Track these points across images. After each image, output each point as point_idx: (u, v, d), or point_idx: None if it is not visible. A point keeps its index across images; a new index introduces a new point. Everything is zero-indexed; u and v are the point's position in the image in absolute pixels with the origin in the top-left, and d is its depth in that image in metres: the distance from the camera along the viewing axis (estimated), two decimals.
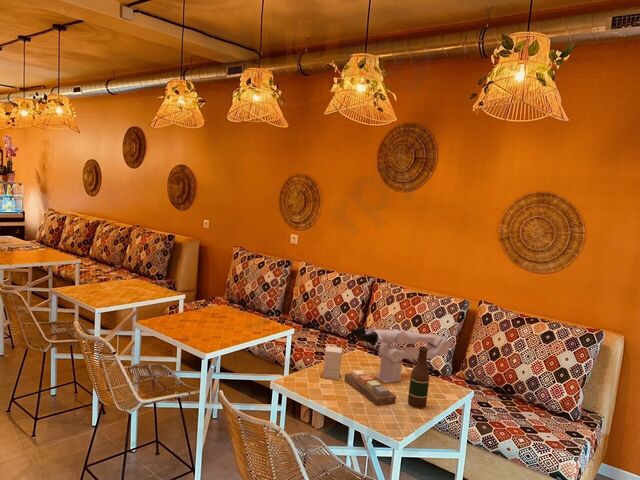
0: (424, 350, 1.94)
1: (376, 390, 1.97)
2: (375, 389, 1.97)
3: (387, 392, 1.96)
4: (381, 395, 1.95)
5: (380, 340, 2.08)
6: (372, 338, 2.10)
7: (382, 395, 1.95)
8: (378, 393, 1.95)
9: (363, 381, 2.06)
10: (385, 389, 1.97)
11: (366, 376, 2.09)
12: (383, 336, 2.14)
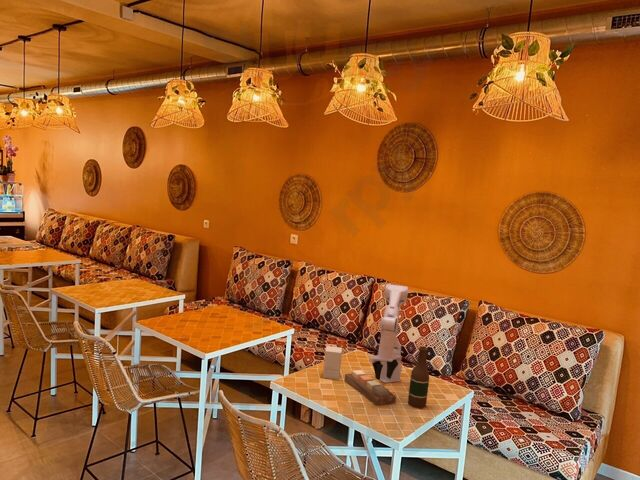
0: (424, 350, 1.94)
1: (376, 390, 1.97)
2: (375, 389, 1.97)
3: (387, 392, 1.96)
4: (381, 395, 1.95)
5: None
6: None
7: (382, 395, 1.95)
8: (378, 393, 1.95)
9: (363, 381, 2.06)
10: (385, 389, 1.97)
11: (366, 376, 2.09)
12: None
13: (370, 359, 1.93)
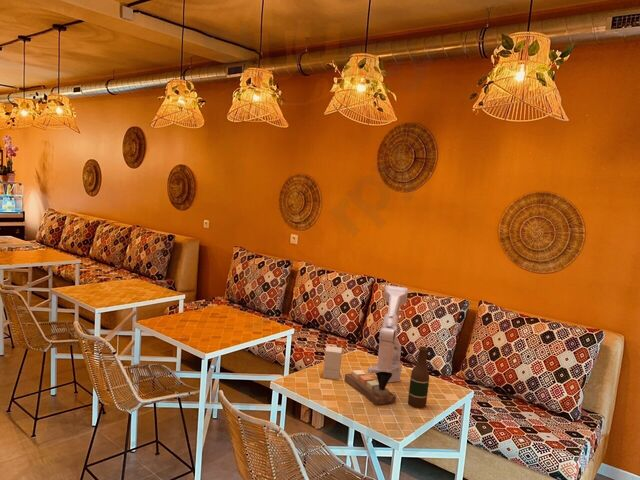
0: (424, 350, 1.94)
1: (376, 390, 1.97)
2: (375, 389, 1.97)
3: (387, 392, 1.96)
4: (381, 395, 1.95)
5: None
6: None
7: (382, 395, 1.95)
8: (378, 393, 1.95)
9: (363, 381, 2.06)
10: (385, 389, 1.97)
11: (366, 376, 2.09)
12: None
13: (369, 370, 1.93)
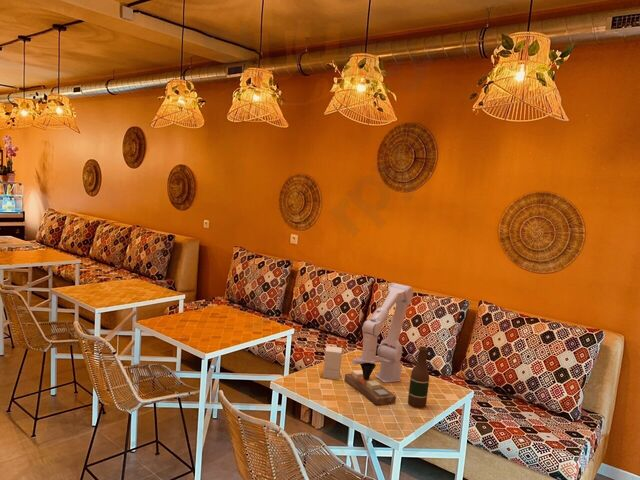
0: (424, 350, 1.94)
1: (376, 393, 1.97)
2: (375, 392, 1.98)
3: (387, 395, 1.96)
4: None
5: None
6: None
7: None
8: None
9: (363, 383, 2.06)
10: (385, 392, 1.97)
11: None
12: None
13: (353, 361, 2.04)
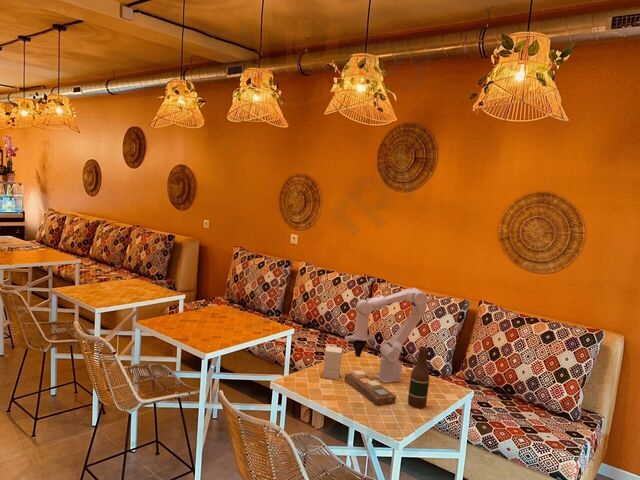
0: (424, 350, 1.93)
1: (376, 393, 1.97)
2: (375, 392, 1.98)
3: (387, 395, 1.96)
4: None
5: None
6: None
7: None
8: None
9: (363, 384, 2.06)
10: (385, 392, 1.97)
11: (366, 379, 2.09)
12: None
13: (346, 338, 2.14)
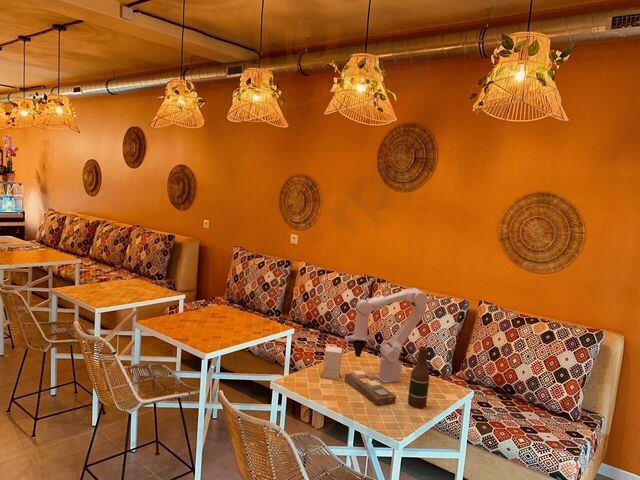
0: (424, 350, 1.93)
1: (376, 393, 1.97)
2: (375, 392, 1.98)
3: (387, 395, 1.96)
4: None
5: None
6: None
7: None
8: None
9: (363, 384, 2.06)
10: (385, 392, 1.97)
11: (366, 379, 2.09)
12: None
13: (346, 338, 2.14)
